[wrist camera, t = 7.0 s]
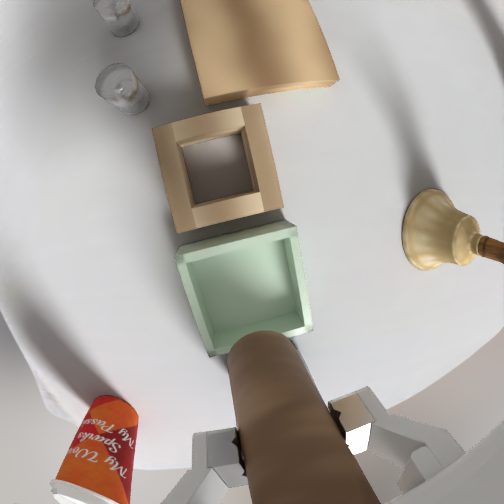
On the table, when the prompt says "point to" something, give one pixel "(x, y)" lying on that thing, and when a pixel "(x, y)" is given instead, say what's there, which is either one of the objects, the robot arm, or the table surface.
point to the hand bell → (443, 234)
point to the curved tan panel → (256, 47)
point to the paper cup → (100, 456)
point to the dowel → (289, 429)
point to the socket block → (208, 128)
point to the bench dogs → (119, 75)
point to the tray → (246, 284)
